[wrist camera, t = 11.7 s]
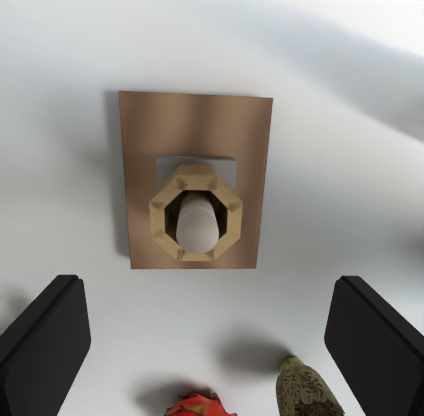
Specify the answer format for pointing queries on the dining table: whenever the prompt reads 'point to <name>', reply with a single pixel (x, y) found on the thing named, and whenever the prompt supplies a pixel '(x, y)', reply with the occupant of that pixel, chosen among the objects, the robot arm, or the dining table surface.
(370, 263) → the dining table surface
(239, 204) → the hub
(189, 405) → the dragon fruit
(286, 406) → the cup
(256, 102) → the shaft stand
